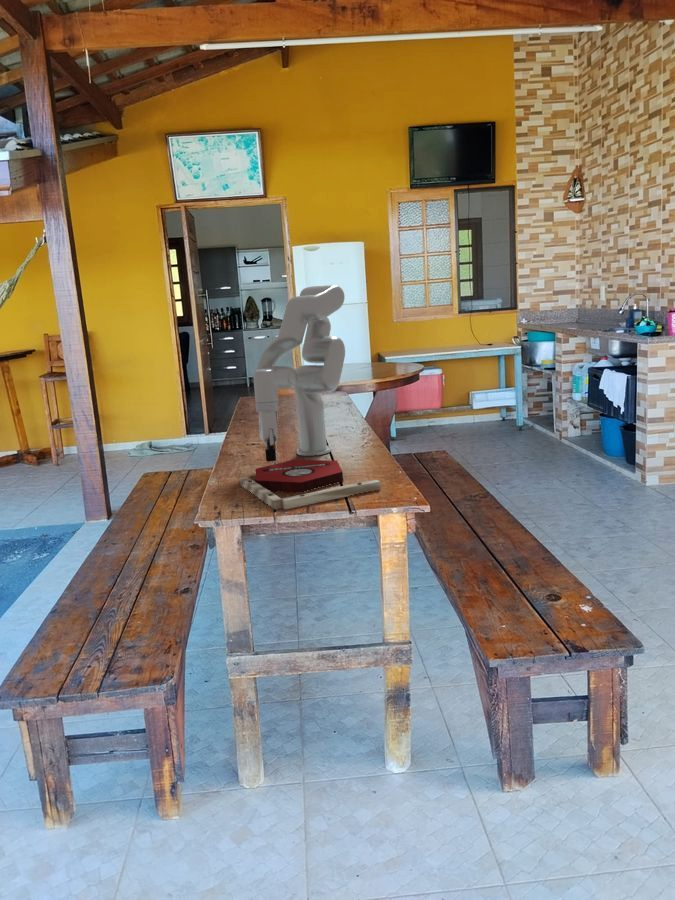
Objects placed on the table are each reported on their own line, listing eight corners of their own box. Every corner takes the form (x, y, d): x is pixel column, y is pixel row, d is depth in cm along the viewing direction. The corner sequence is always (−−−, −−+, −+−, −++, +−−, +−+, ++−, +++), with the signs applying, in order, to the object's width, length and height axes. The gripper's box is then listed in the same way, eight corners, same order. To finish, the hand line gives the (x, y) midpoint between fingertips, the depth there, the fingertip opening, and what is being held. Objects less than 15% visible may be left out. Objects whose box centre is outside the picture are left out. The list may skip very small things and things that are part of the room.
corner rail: (240, 486, 229) (239, 477, 228) (333, 468, 242) (333, 460, 241) (277, 511, 201) (276, 501, 200) (380, 489, 214) (379, 480, 213)
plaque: (255, 473, 244) (257, 498, 215) (254, 463, 244) (256, 487, 215) (335, 465, 247) (347, 489, 218) (334, 455, 246) (346, 477, 217)
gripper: (253, 404, 249) (257, 457, 253) (258, 410, 235) (263, 466, 238) (274, 403, 251) (278, 455, 254) (281, 408, 237) (285, 464, 240)
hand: (271, 460), depth 246 cm, fingers closed
